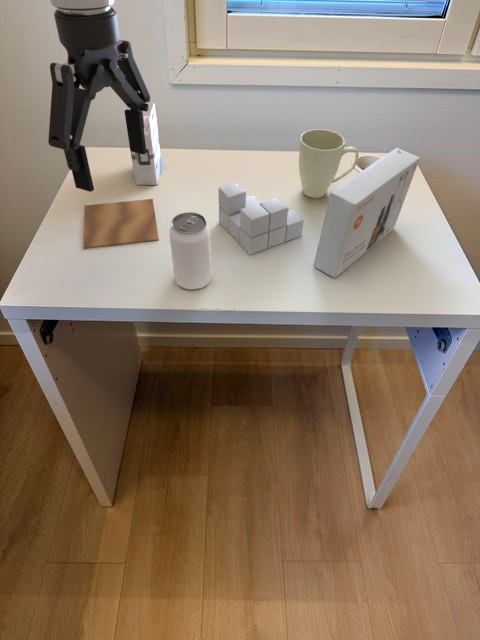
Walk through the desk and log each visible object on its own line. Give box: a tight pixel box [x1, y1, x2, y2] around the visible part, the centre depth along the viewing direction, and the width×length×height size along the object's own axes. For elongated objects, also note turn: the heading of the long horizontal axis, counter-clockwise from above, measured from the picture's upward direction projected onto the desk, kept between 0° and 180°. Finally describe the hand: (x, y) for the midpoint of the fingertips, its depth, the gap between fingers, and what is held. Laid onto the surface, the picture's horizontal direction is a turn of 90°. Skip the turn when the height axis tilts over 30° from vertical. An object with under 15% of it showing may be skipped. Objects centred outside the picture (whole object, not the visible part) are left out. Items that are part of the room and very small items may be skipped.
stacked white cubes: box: [218, 182, 305, 256], centre depth 90 cm, size 12×12×8 cm
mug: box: [298, 128, 359, 199], centre depth 98 cm, size 11×10×12 cm
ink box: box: [130, 102, 163, 186], centre depth 100 cm, size 9×5×15 cm, turn 179°
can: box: [169, 211, 212, 291], centre depth 78 cm, size 6×6×12 cm
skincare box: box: [313, 147, 421, 279], centre depth 84 cm, size 21×5×16 cm, turn 137°
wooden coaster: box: [83, 198, 160, 249], centre depth 93 cm, size 14×14×1 cm
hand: (113, 169), depth 72 cm, fingers open, 13 cm apart
